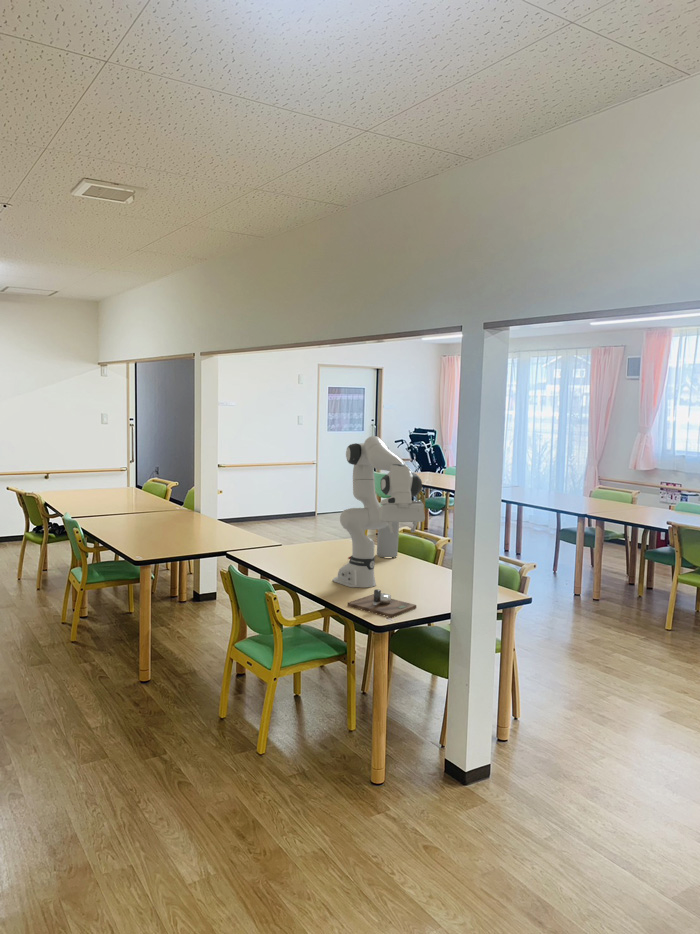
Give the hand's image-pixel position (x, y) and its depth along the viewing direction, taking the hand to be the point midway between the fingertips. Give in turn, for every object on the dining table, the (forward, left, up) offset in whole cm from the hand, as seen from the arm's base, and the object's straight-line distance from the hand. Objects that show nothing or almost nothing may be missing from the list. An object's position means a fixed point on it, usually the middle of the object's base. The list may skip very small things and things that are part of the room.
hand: (403, 532), depth 295 cm
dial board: (-13, +6, -37) cm, 40 cm away
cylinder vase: (-71, +94, -37) cm, 124 cm away
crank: (-13, +5, -35) cm, 38 cm away
